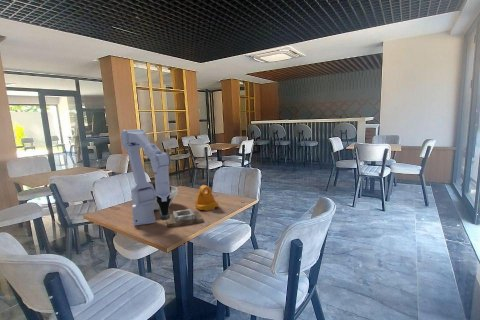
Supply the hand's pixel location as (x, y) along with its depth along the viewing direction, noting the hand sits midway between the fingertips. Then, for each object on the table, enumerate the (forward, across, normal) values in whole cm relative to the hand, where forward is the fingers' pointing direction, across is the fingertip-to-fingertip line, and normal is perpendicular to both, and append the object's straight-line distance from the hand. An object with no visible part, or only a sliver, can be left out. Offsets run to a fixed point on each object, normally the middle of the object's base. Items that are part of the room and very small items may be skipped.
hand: (164, 213), depth 110 cm
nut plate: (+8, -10, +9) cm, 16 cm away
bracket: (+8, -23, +23) cm, 34 cm away
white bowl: (+8, -36, -3) cm, 37 cm away
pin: (+2, 0, 0) cm, 2 cm away
